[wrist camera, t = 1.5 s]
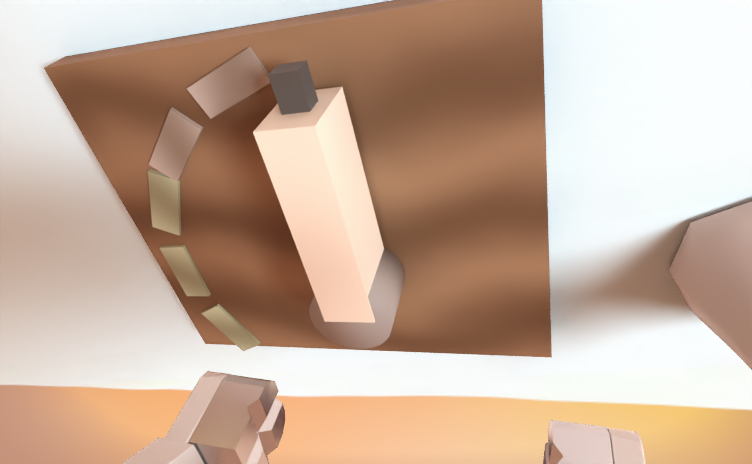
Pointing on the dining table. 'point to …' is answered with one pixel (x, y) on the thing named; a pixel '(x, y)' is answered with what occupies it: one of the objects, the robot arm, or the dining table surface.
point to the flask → (720, 275)
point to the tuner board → (378, 155)
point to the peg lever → (329, 209)
